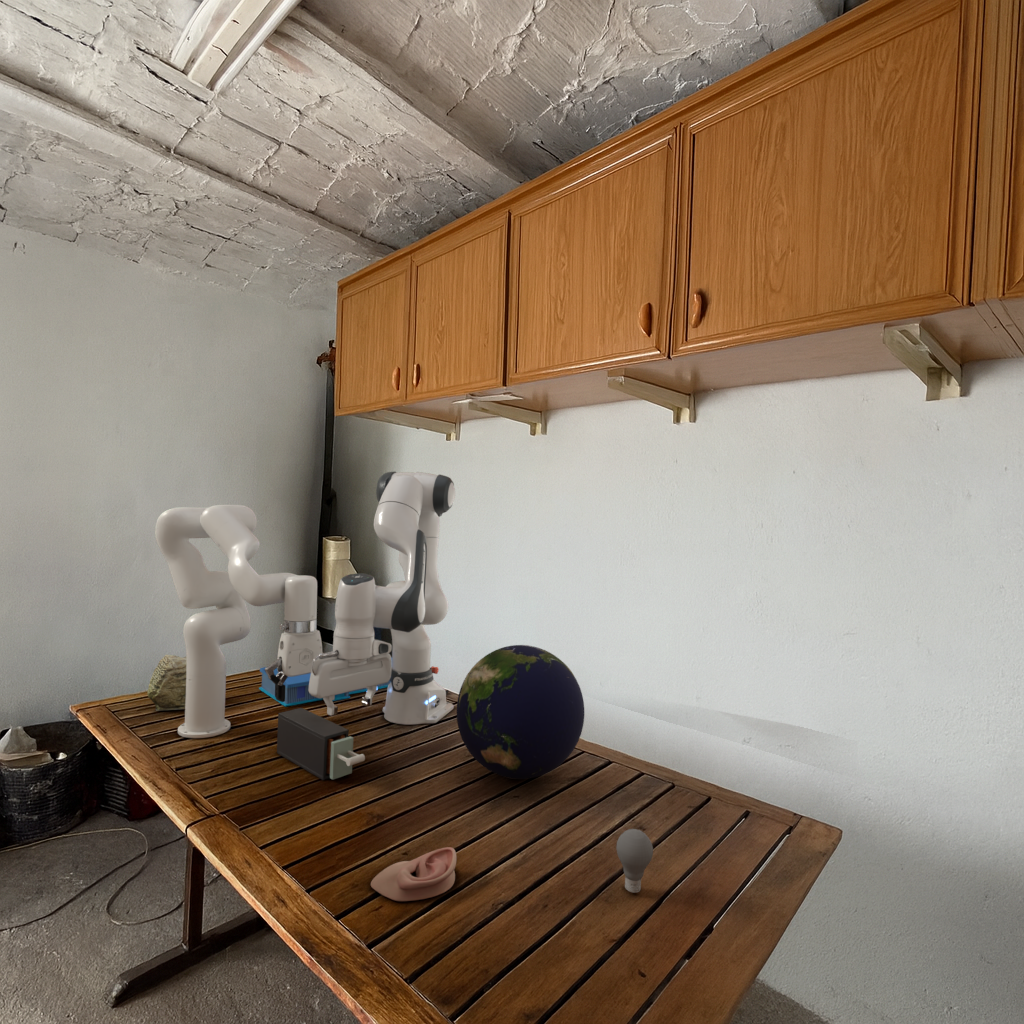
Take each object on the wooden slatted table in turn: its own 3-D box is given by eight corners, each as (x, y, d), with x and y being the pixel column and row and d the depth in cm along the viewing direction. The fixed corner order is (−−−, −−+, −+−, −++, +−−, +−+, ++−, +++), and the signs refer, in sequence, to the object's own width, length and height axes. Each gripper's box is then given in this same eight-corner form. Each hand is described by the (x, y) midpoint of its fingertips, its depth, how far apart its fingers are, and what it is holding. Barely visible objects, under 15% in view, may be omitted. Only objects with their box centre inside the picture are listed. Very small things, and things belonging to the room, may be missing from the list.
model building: (289, 709, 186) (291, 675, 185) (258, 688, 204) (259, 657, 204) (403, 687, 212) (405, 657, 212) (366, 670, 230) (368, 643, 230)
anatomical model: (363, 870, 101) (391, 834, 112) (362, 895, 101) (390, 856, 113) (442, 884, 99) (463, 845, 110) (441, 909, 99) (462, 868, 110)
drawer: (366, 780, 140) (367, 744, 140) (346, 788, 136) (348, 750, 136) (306, 748, 157) (307, 715, 157) (287, 753, 153) (288, 720, 153)
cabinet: (347, 772, 146) (348, 729, 146) (323, 780, 141) (324, 736, 141) (299, 746, 160) (301, 707, 159) (276, 753, 155) (278, 713, 155)
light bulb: (610, 879, 108) (613, 822, 108) (644, 879, 109) (647, 822, 109) (619, 902, 102) (622, 840, 102) (655, 901, 103) (658, 840, 103)
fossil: (144, 707, 182) (145, 655, 182) (212, 696, 194) (213, 647, 194) (151, 716, 175) (153, 662, 175) (221, 703, 188) (223, 653, 188)
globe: (430, 785, 141) (436, 651, 140) (486, 740, 168) (491, 628, 168) (558, 816, 130) (565, 670, 129) (595, 762, 157) (601, 642, 157)
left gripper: (274, 633, 146) (273, 707, 146) (339, 624, 159) (338, 692, 159) (258, 628, 151) (257, 700, 151) (323, 620, 164) (321, 686, 164)
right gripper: (322, 657, 131) (318, 724, 131) (397, 644, 147) (393, 703, 147) (304, 651, 134) (300, 716, 135) (379, 639, 151) (376, 697, 151)
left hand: (298, 696), depth 155 cm, fingers open, 9 cm apart
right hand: (350, 709), depth 141 cm, fingers open, 8 cm apart
